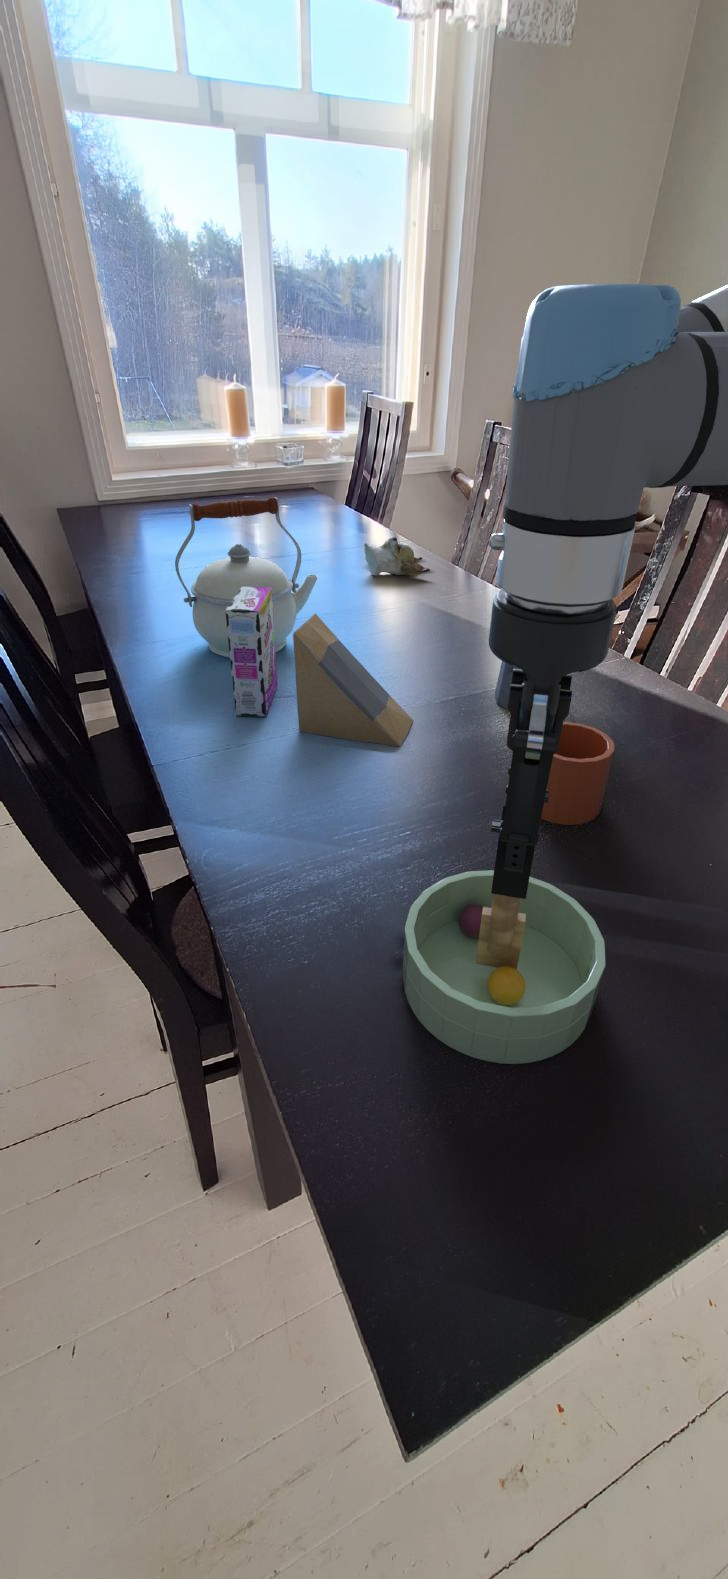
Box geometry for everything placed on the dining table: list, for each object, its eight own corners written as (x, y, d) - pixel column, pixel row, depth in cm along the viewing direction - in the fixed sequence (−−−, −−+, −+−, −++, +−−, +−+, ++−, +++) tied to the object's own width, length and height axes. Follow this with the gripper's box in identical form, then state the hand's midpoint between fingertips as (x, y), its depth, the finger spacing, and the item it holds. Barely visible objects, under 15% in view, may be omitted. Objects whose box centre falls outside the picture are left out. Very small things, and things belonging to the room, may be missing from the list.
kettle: (200, 673, 116) (178, 518, 102) (178, 636, 130) (156, 494, 116) (337, 650, 125) (335, 503, 111) (303, 617, 139) (296, 483, 125)
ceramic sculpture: (361, 530, 162) (424, 532, 164) (359, 567, 166) (420, 569, 168) (367, 542, 153) (433, 544, 155) (365, 581, 158) (429, 583, 160)
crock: (596, 797, 86) (612, 726, 81) (598, 840, 79) (616, 766, 73) (522, 787, 88) (533, 717, 82) (518, 829, 81) (530, 755, 75)
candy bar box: (268, 718, 103) (259, 611, 94) (234, 717, 103) (222, 610, 94) (279, 685, 113) (272, 585, 103) (249, 684, 113) (239, 584, 104)
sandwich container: (400, 747, 96) (404, 645, 88) (297, 732, 100) (292, 632, 91) (414, 719, 103) (419, 622, 95) (317, 706, 107) (314, 611, 98)
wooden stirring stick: (517, 958, 62) (554, 756, 50) (516, 976, 60) (553, 772, 48) (477, 950, 62) (503, 750, 51) (474, 968, 61) (501, 765, 49)
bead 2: (532, 986, 60) (522, 957, 59) (526, 1013, 57) (515, 983, 56) (497, 987, 61) (486, 959, 60) (490, 1013, 59) (478, 984, 58)
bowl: (589, 933, 67) (602, 886, 64) (594, 1084, 54) (609, 1036, 50) (420, 903, 70) (423, 858, 67) (385, 1039, 57) (386, 991, 54)
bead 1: (502, 933, 64) (494, 914, 67) (484, 909, 63) (476, 891, 66) (473, 951, 65) (466, 931, 67) (455, 928, 63) (448, 909, 66)
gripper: (504, 556, 50) (474, 820, 63) (480, 632, 37) (450, 940, 50) (613, 563, 48) (559, 832, 61) (626, 645, 36) (555, 959, 49)
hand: (510, 880), depth 56 cm, fingers closed on wooden stirring stick, 2 cm apart
